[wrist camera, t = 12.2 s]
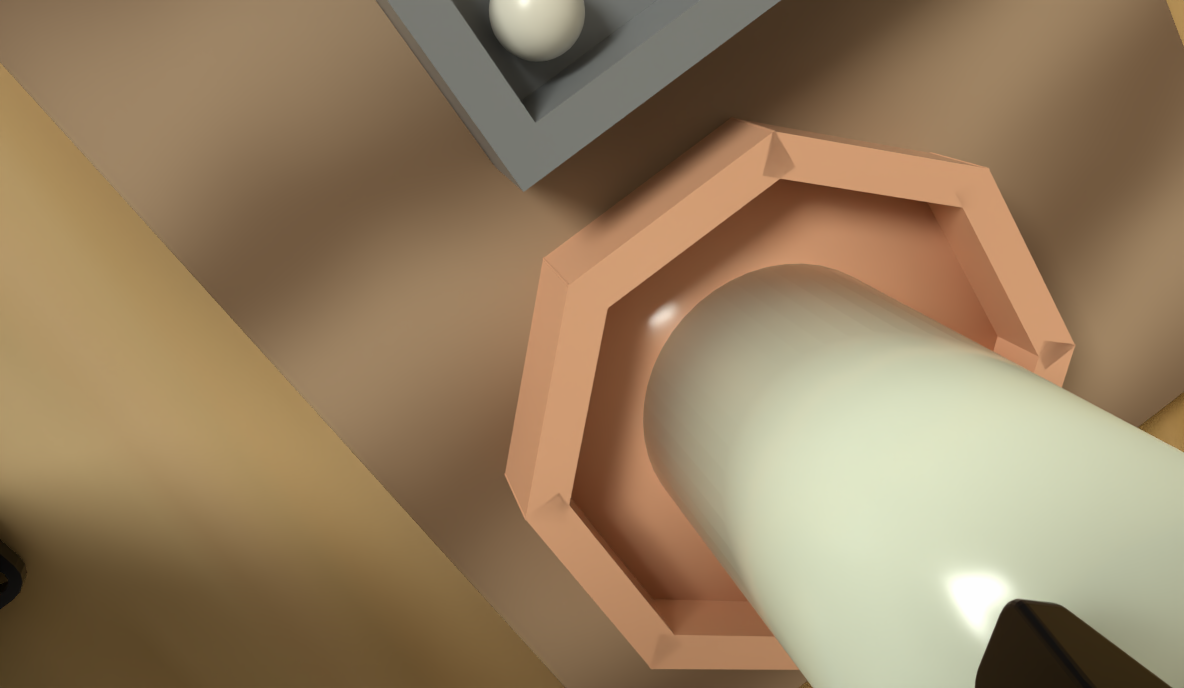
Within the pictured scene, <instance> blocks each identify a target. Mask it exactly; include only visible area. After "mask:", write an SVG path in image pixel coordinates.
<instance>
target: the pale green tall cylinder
mask: <svg viewBox="0 0 1184 688" xmlns="http://www.w3.org/2000/svg"><path fill="white" fill-rule="evenodd" d="M643 429H644V440H645V444H646V449H647V453H648V457H649V459H650V462H651V465H652V467H653V470H654V472H655V474H656V476H657V477H658V479H659V481H660V483H661V484H662V486H663V487H664V489H665V490H666V491H667V493H668V494H669V495H670V497H671V498H672V499H673V501H674V502H675V503H676V505H677V506H678V507H679V509H680V510H681V512H682V513H683V514H684V516H685V517H686V518H687V520H688V521H689V522H690V524H691V525H692V526H693V528H694V529H695V530H696V532H697V533H698V534H699V536H700V537H701V538H702V540H703V541H704V542H705V544H706V545H707V546H708V548H709V549H710V550H711V552H712V553H713V554H714V556H715V557H716V558H717V560H718V561H719V562H720V564H721V565H722V567H723V568H724V569H725V571H726V572H727V573H728V575H729V576H730V577H731V579H732V580H733V581H734V583H735V584H736V585H737V587H738V588H739V589H740V591H741V592H742V593H743V595H744V596H745V597H746V599H747V600H748V601H749V603H750V604H751V605H752V607H753V608H754V609H755V611H756V612H757V613H758V615H759V616H760V617H761V619H762V620H763V622H764V623H765V624H766V626H767V627H768V628H769V630H770V631H771V632H772V634H773V635H774V636H775V638H776V639H777V640H778V642H779V643H780V644H781V646H782V647H783V648H784V650H785V651H786V652H787V654H788V655H789V656H790V658H791V659H792V660H793V662H794V663H795V664H796V666H797V667H798V668H799V670H800V671H801V672H802V674H803V675H804V677H805V678H806V679H807V681H808V682H809V683H810V685H811V686H812V687H813V688H975V679H976V674H977V670H978V667H979V665H980V662H981V660H982V657H983V655H984V652H985V650H986V647H987V645H988V642H989V640H990V637H991V635H992V632H993V630H994V627H995V625H996V622H997V620H998V617H999V615H1000V613H1001V611H1002V609H1003V607H1004V606H1005V605H1006V604H1007V603H1008V602H1009V601H1011V600H1014V599H1027V600H1036V601H1044V602H1052V603H1057V604H1060V605H1062V606H1064V607H1065V608H1067V609H1068V610H1069V611H1071V612H1072V613H1073V614H1075V615H1076V616H1077V617H1079V618H1080V619H1081V620H1083V621H1084V622H1085V623H1087V624H1088V625H1089V626H1091V627H1092V628H1093V629H1095V630H1096V631H1097V632H1099V633H1100V634H1101V635H1103V636H1104V637H1105V638H1107V639H1108V640H1109V641H1111V642H1112V643H1113V644H1115V645H1116V646H1117V647H1119V648H1120V649H1121V650H1123V651H1124V652H1125V653H1127V654H1128V655H1129V656H1131V657H1132V658H1133V659H1135V660H1136V661H1137V662H1139V663H1140V664H1141V665H1143V666H1144V667H1145V668H1147V669H1148V670H1149V671H1151V672H1152V673H1154V674H1155V675H1156V676H1158V677H1159V678H1160V679H1162V680H1163V681H1164V682H1166V683H1167V684H1168V685H1170V686H1171V687H1172V688H1184V452H1182V451H1180V450H1178V449H1176V448H1174V447H1173V446H1171V445H1169V444H1167V443H1165V442H1163V441H1161V440H1159V439H1157V438H1156V437H1154V436H1152V435H1150V434H1148V433H1146V432H1144V431H1142V430H1140V429H1139V428H1137V427H1135V426H1133V425H1131V424H1129V423H1127V422H1125V421H1124V420H1122V419H1120V418H1118V417H1116V416H1114V415H1112V414H1110V413H1108V412H1107V411H1105V410H1103V409H1101V408H1099V407H1097V406H1095V405H1093V404H1092V403H1090V402H1088V401H1086V400H1084V399H1082V398H1080V397H1078V396H1076V395H1075V394H1073V393H1071V392H1069V391H1067V390H1065V389H1063V388H1061V387H1059V386H1058V385H1056V384H1054V383H1052V382H1050V381H1048V380H1046V379H1044V378H1043V377H1041V376H1039V375H1037V374H1035V373H1033V372H1031V371H1029V370H1027V369H1026V368H1024V367H1022V366H1020V365H1018V364H1016V363H1014V362H1012V361H1011V360H1009V359H1007V358H1005V357H1003V356H1001V355H999V354H997V353H995V352H994V351H992V350H990V349H988V348H986V347H984V346H982V345H980V344H978V343H977V342H975V341H973V340H971V339H969V338H967V337H965V336H963V335H962V334H960V333H958V332H956V331H954V330H952V329H950V328H948V327H946V326H945V325H943V324H941V323H939V322H937V321H935V320H933V319H931V318H929V317H928V316H926V315H924V314H922V313H920V312H918V311H916V310H914V309H913V308H911V307H909V306H907V305H905V304H903V303H901V302H899V301H897V300H896V299H894V298H892V297H890V296H888V295H886V294H884V293H882V292H881V291H879V290H877V289H875V288H873V287H871V286H869V285H867V284H865V283H864V282H862V281H860V280H858V279H856V278H854V277H852V276H850V275H848V274H845V273H843V272H841V271H838V270H836V269H832V268H828V267H824V266H821V265H812V264H803V263H802V264H782V265H776V266H770V267H765V268H762V269H759V270H755V271H752V272H749V273H746V274H744V275H742V276H740V277H738V278H735V279H733V280H731V281H729V282H728V283H726V284H724V285H723V286H721V287H719V288H718V289H716V290H714V291H713V292H712V293H710V294H709V295H708V296H707V297H705V298H704V299H703V300H701V301H700V302H699V303H698V304H697V305H696V306H695V307H694V308H693V309H692V310H691V311H690V312H689V313H688V314H687V315H686V316H685V317H684V318H683V319H682V320H681V322H680V323H679V324H678V325H677V327H676V328H675V329H674V330H673V332H672V333H671V335H670V336H669V338H668V340H667V341H666V343H665V344H664V346H663V348H662V349H661V351H660V354H659V356H658V358H657V360H656V362H655V364H654V366H653V369H652V372H651V375H650V379H649V382H648V385H647V390H646V395H645V400H644V411H643Z"/></svg>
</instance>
